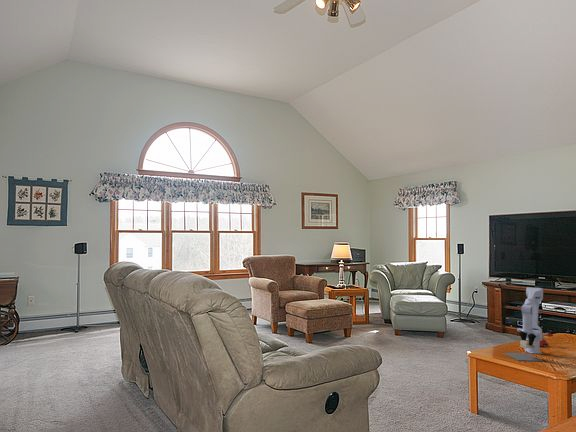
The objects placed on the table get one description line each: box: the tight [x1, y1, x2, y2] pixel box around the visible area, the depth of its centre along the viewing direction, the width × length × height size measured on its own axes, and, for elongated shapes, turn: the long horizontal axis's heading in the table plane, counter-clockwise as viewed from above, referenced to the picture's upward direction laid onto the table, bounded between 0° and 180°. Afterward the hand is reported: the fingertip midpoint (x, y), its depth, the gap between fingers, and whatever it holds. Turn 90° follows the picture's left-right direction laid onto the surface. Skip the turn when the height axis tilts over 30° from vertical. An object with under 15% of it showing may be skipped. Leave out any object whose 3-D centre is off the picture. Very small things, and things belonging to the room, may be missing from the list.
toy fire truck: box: [539, 332, 554, 348], centre depth 329 cm, size 3×14×10 cm, turn 101°
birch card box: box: [519, 339, 535, 349], centre depth 294 cm, size 8×4×4 cm, turn 112°
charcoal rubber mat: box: [504, 352, 544, 362], centre depth 294 cm, size 18×16×1 cm
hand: (527, 344), depth 294 cm, fingers closed on birch card box, 4 cm apart
